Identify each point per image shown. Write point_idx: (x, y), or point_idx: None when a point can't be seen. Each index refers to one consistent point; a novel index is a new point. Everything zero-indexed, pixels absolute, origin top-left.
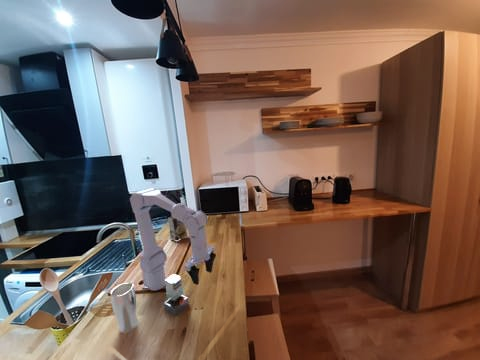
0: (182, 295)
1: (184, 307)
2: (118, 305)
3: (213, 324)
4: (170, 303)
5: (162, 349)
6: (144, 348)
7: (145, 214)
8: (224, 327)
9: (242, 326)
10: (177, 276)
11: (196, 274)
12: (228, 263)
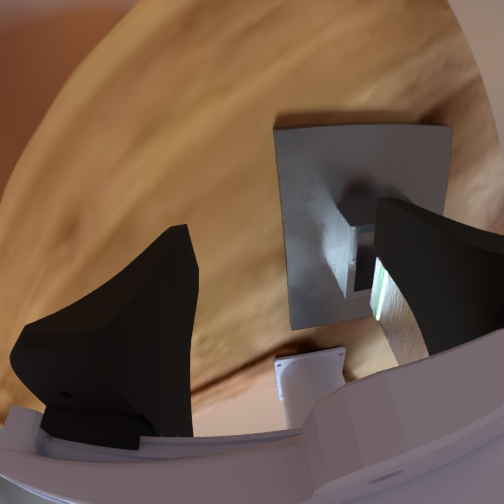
0: (352, 261)
1: (366, 206)
2: None
3: (345, 23)
4: None
5: (487, 141)
6: (495, 193)
7: None
8: None
9: None
10: (428, 356)
11: (496, 238)
12: (19, 275)
